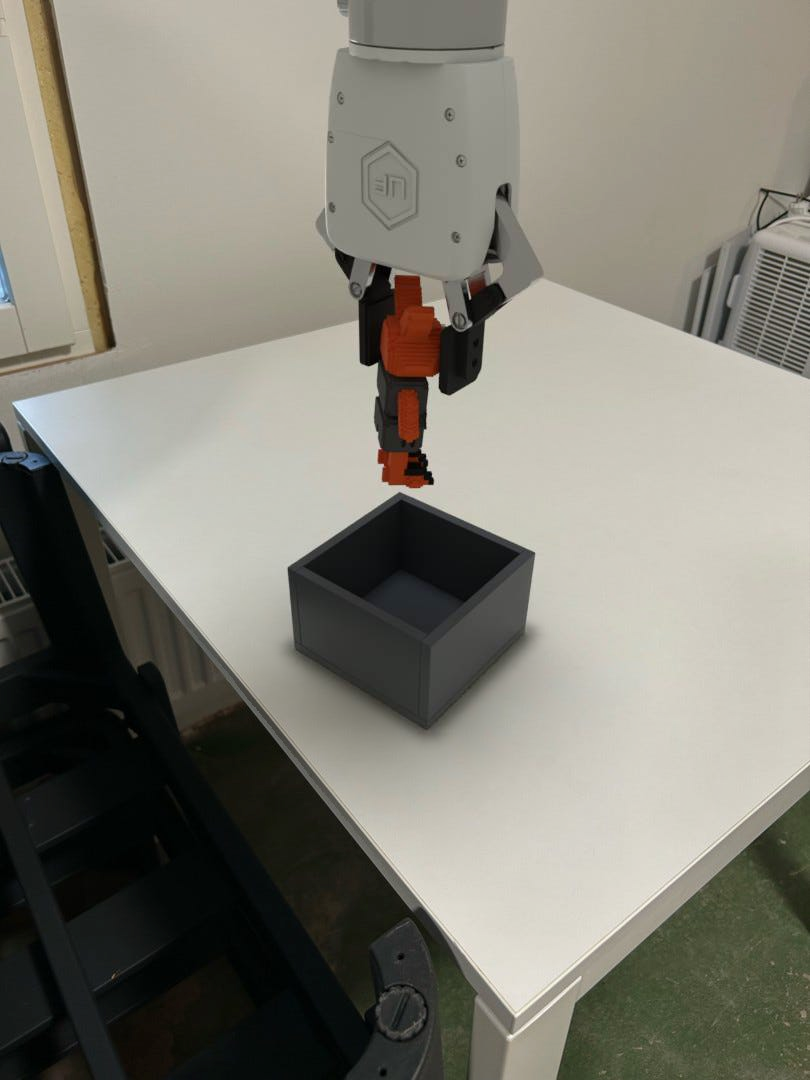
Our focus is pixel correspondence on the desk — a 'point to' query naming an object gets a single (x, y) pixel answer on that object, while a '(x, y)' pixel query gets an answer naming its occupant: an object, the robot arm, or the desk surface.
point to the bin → (410, 604)
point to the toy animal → (406, 384)
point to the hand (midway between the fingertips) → (418, 369)
